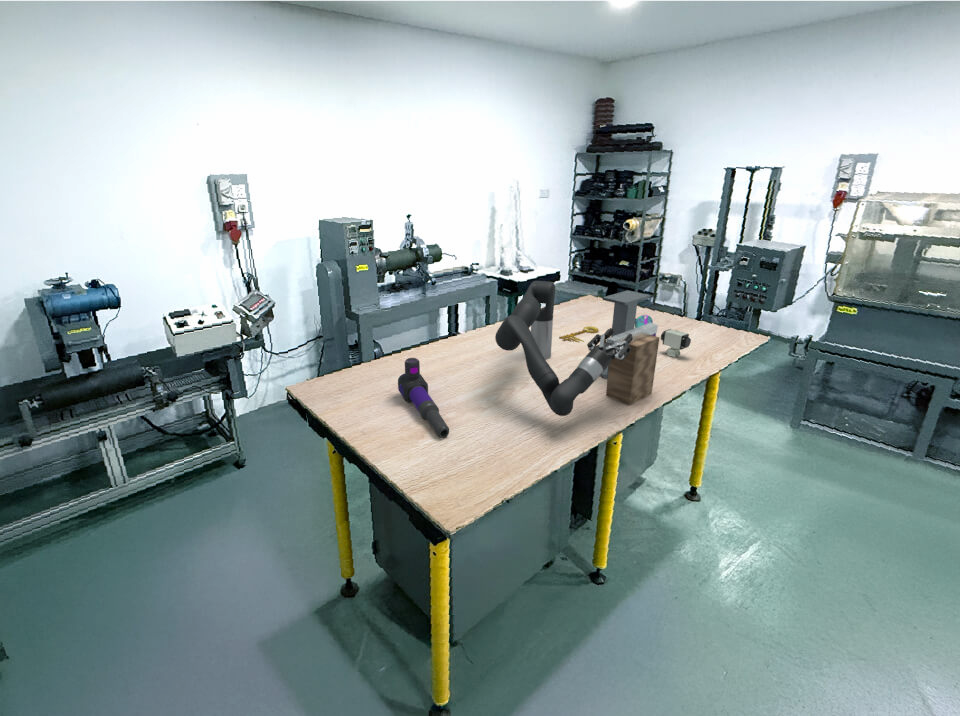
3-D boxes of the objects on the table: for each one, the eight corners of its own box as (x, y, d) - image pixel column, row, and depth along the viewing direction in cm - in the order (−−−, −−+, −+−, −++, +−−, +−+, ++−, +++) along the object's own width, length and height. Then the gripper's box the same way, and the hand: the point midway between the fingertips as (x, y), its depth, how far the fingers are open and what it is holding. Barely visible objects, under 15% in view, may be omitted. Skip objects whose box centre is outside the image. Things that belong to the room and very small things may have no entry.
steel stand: (616, 382, 190) (625, 302, 178) (595, 374, 197) (602, 297, 185) (640, 372, 200) (650, 295, 188) (619, 364, 207) (627, 290, 195)
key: (557, 340, 237) (557, 337, 236) (588, 327, 253) (589, 324, 252) (575, 346, 230) (576, 343, 229) (606, 333, 245) (607, 330, 245)
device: (430, 447, 152) (429, 406, 146) (397, 392, 182) (395, 356, 175) (457, 440, 156) (457, 400, 149) (420, 388, 185) (419, 352, 179)
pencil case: (632, 330, 248) (634, 312, 245) (651, 331, 246) (653, 313, 243) (635, 344, 229) (637, 325, 226) (655, 346, 228) (657, 326, 224)
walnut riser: (629, 405, 173) (636, 346, 165) (605, 395, 180) (611, 338, 172) (651, 393, 181) (659, 337, 173) (628, 384, 188) (634, 330, 180)
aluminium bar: (613, 349, 162) (614, 340, 161) (605, 347, 164) (606, 338, 163) (656, 332, 178) (657, 324, 177) (649, 330, 180) (650, 322, 179)
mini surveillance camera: (682, 361, 210) (686, 334, 206) (658, 353, 219) (661, 327, 214) (689, 358, 213) (693, 331, 209) (665, 350, 222) (668, 325, 217)
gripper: (608, 364, 153) (638, 329, 158) (572, 351, 163) (601, 319, 168) (613, 380, 157) (642, 346, 163) (578, 367, 168) (606, 335, 173)
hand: (621, 332), depth 165 cm, fingers open, 7 cm apart
